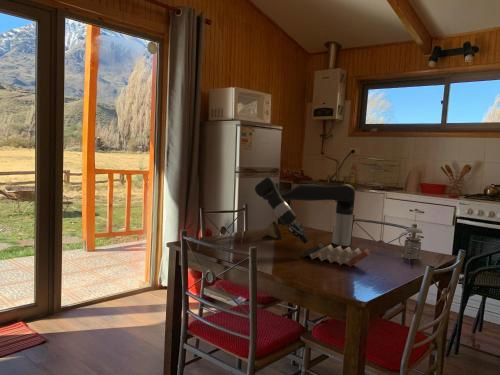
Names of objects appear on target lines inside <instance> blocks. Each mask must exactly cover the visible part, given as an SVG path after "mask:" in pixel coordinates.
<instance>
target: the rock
mask: <svg viewBox="0 0 500 375" xmlns="http://www.w3.org/2000/svg"><path fill="white" fill-rule="evenodd" d="M266 230H267V231H266V235H267V236H269V237H270V236H271V238H273V237H274V238H273V239H276V238H278V239H277V240H284V239H283V235H282V232H281V230H280V227H279V225H278V224H277V222H276V220H274V221H272V222H271V223H270V224H269V225H268V228H267V229H266Z"/></svg>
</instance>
